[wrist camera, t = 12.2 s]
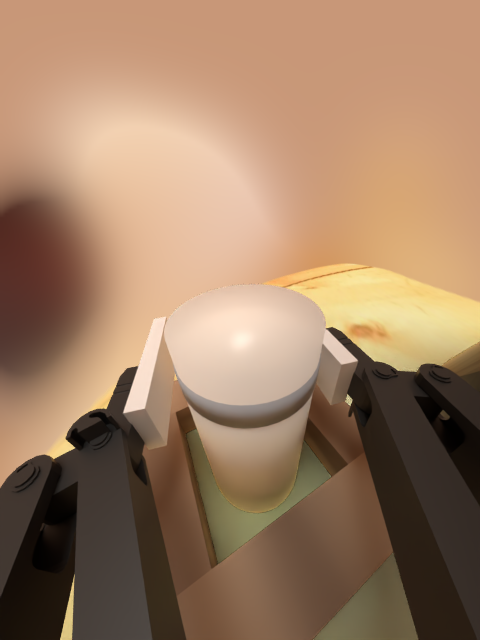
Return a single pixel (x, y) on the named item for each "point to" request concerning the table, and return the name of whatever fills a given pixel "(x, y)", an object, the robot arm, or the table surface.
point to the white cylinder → (249, 384)
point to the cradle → (272, 538)
